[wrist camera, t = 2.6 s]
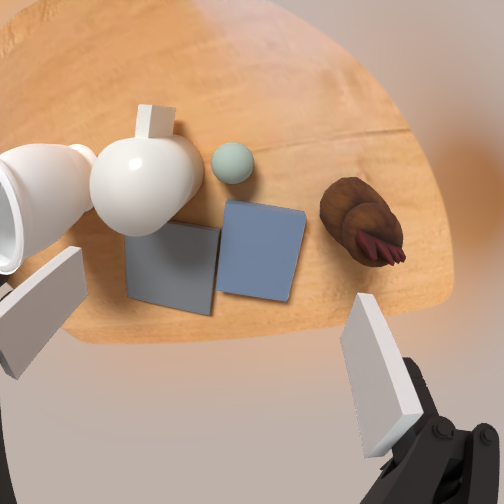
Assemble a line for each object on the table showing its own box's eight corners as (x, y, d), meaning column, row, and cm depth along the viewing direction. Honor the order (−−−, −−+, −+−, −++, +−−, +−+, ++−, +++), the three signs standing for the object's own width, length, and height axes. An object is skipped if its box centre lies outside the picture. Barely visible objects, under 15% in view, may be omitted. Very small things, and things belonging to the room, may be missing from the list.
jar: (116, 219, 32) (36, 281, 18) (55, 219, 33) (-23, 269, 19) (109, 130, 28) (11, 147, 14) (46, 141, 28) (-45, 165, 15)
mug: (132, 201, 31) (90, 228, 23) (140, 106, 27) (94, 104, 18) (199, 211, 31) (173, 244, 23) (213, 111, 27) (187, 106, 18)
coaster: (130, 293, 36) (127, 297, 35) (128, 213, 32) (124, 216, 31) (210, 310, 36) (209, 315, 35) (220, 228, 32) (218, 232, 31)
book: (219, 279, 35) (215, 290, 33) (228, 197, 31) (225, 203, 28) (286, 290, 35) (287, 301, 33) (304, 210, 31) (307, 216, 28)
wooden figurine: (303, 201, 30) (328, 269, 16) (341, 161, 28) (401, 196, 14) (347, 242, 31) (393, 328, 18) (384, 205, 29) (455, 270, 15)
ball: (213, 176, 29) (204, 184, 26) (218, 138, 28) (210, 140, 24) (251, 183, 29) (248, 191, 26) (258, 144, 28) (255, 147, 24)
